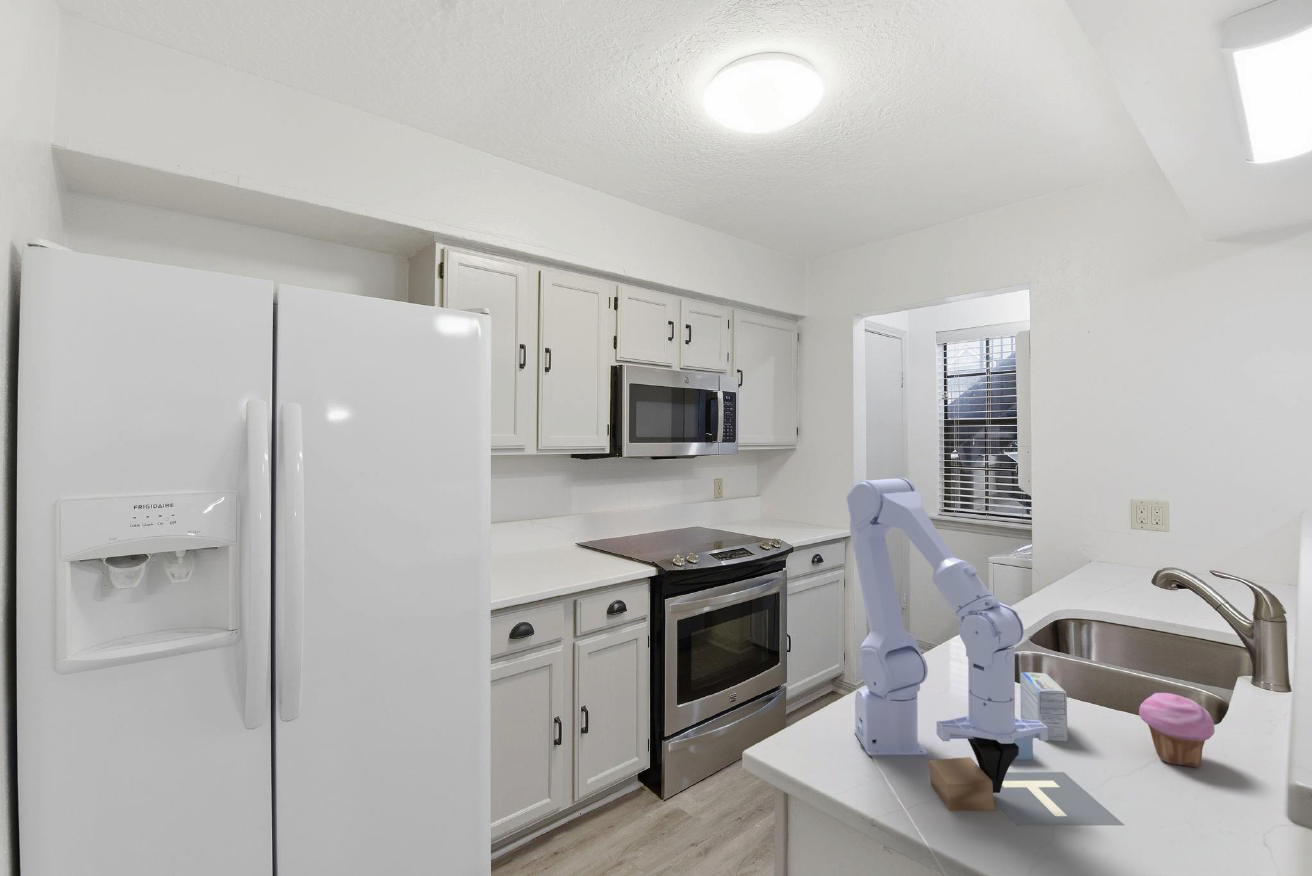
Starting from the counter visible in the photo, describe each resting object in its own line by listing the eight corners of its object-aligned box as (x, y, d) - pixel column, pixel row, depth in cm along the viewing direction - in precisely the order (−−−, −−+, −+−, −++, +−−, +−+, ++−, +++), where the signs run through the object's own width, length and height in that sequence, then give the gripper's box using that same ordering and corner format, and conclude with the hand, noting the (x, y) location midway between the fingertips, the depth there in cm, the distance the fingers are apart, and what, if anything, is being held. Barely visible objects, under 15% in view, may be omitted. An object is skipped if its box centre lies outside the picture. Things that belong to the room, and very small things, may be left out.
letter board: (1016, 828, 79) (1016, 825, 79) (970, 775, 91) (970, 772, 91) (1124, 828, 78) (1124, 824, 78) (1063, 774, 90) (1063, 771, 90)
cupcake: (1151, 768, 92) (1151, 703, 91) (1130, 740, 100) (1130, 681, 99) (1226, 780, 88) (1226, 713, 88) (1198, 750, 96) (1198, 688, 96)
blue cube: (1000, 762, 94) (1000, 731, 94) (983, 745, 99) (983, 715, 99) (1032, 762, 94) (1032, 731, 94) (1014, 745, 99) (1014, 715, 99)
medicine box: (1068, 744, 99) (1068, 692, 99) (1038, 741, 100) (1038, 690, 100) (1047, 721, 107) (1047, 672, 106) (1019, 719, 108) (1019, 671, 107)
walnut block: (950, 813, 82) (947, 784, 82) (931, 787, 88) (928, 760, 88) (994, 810, 82) (992, 781, 82) (972, 784, 88) (970, 757, 88)
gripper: (952, 706, 80) (953, 806, 81) (1062, 706, 80) (1062, 806, 80) (929, 684, 87) (930, 776, 88) (1030, 683, 87) (1030, 775, 87)
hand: (991, 788), depth 85 cm, fingers closed
